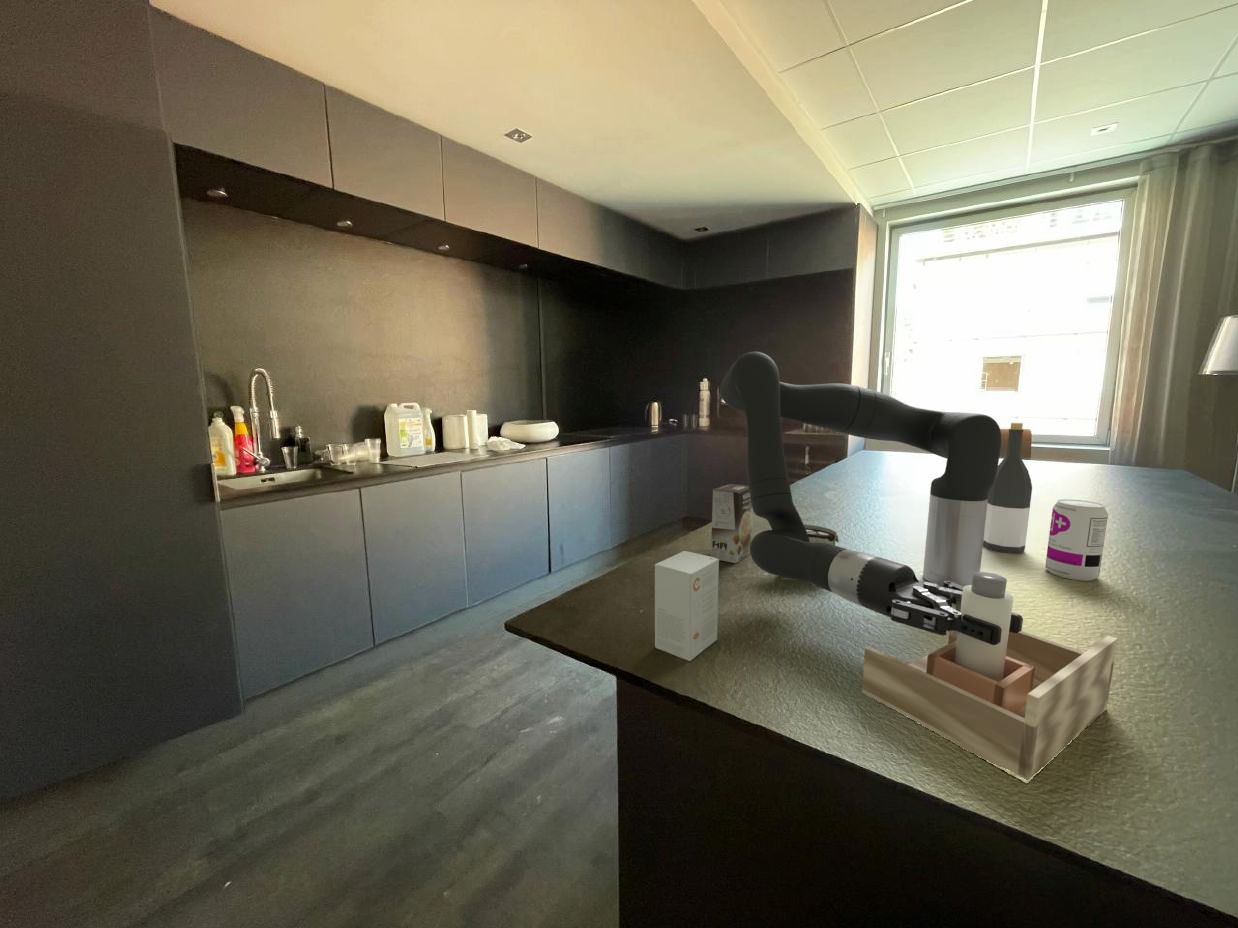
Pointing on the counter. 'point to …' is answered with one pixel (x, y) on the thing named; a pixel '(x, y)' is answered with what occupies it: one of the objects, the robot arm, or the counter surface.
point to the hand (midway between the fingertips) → (1009, 630)
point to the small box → (686, 604)
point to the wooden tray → (1000, 697)
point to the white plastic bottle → (993, 607)
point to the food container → (820, 536)
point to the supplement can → (1076, 539)
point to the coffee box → (731, 523)
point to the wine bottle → (1009, 500)
